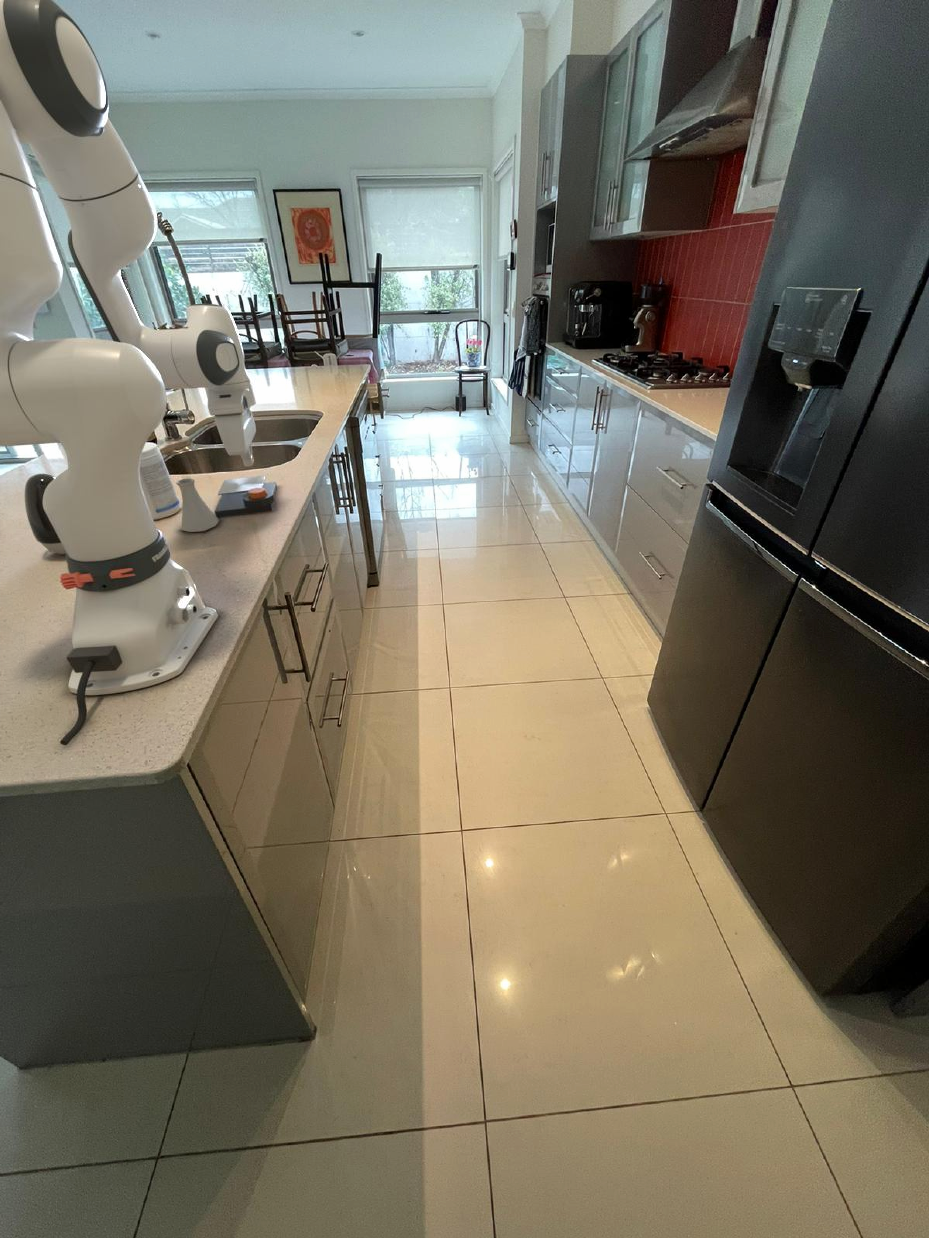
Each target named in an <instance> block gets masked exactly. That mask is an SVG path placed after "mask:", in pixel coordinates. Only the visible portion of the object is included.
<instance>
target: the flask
mask: <svg viewBox="0 0 929 1238" xmlns="http://www.w3.org/2000/svg"><path fill="white" fill-rule="evenodd" d="M176 485H177V486H178V487H179V489H180V493H181V500H182V505H181V508H182V509H181V511H182V512H181V527H180V528H181V531H185V532H188V533H195V532H196V533H197V532H205V531H207V530H209V529H212V528H214V527H216V526H217V525H218V523H219V522H220V519H219V517H216V515H215V512H213V511H212V510H211V509H210V508H209V506H208V505H207V503H206V502H205V501H204V500H203V499H202V497H201V495H200V494H199V492H198V490H197V488H196V486H195V479H194V478H191V477H189V478H182V479H179V480H178V481H176Z"/></svg>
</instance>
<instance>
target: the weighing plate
mask: <svg viewBox="0 0 929 1238" xmlns="http://www.w3.org/2000/svg"><path fill="white" fill-rule="evenodd" d="M265 480H266V475H260V476H250V477H249V476H248V477H240V478H231V479H224V480H223V482H222V483H221V486H220V488H219V491H218V492H217V496H222V495H226V494H235V493H244V492H248V491H249V490H251V489H254V488H263V485H264V483H265Z"/></svg>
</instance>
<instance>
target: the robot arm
mask: <svg viewBox="0 0 929 1238" xmlns="http://www.w3.org/2000/svg"><path fill="white" fill-rule="evenodd" d="M100 65H101V64H100V63H99V60H98V58H97V56H96V54H95V52H94V50H93V47H92V46H91V44H90V42H89V40H88V39H87V37H86V35H85V34H84V32H83V31H82V29H81V28H80V26H79V25H78V24H77V23H76V22H75V20H74V19H73V18H72V17H71V16H70V15H69V14H68V13H67V12H66V11H64V10H63V9H62V8H61V6H59V5H58V3H56V2H55V1H54V0H0V447H2V448H3V447H16V446H28V445H29V446H32V445H46V444H60V445H61V446H62V448H63V450H64V452H65V456H66V460H67V469H66V470H64V471H63V472H61V473H60V474H59V475H57V476H56V477H55V479H54V480H52V481H51V482H50V483H49V485H48V486H47V487H46V489H45V492H44V495H43V508H44V510H45V512H46V514H47V516H48V518H49V520H50V522H51V524H52V526H53V528H54V529H55V531H56V533H57V535H58V537H59V539H60V541H61V543H62V545H63V547H64V548H65V550H66V552H67V553H66V554H65V560H66V563H67V564H66V565H67V570H68V573H67V572H66V573H65V572H64V573H61V574H60V577H59V580H60V581H59V582H60V583H61V586H62V587H63V589H65V590H70V589H71V590H72V589H74V588H76V592H75V601H74V610H73V621H72V633H71V646H72V650H71V651H70V653H68V655H67V656H66V660H67V661H68V663H69V665H70V666H71V669H72V670H71V672H70V676H69V680H68V684H67V685H68V686H67V687H68V689H69V691H70V693H72V694H76V705H77V708H78V709H77V711H78V713H77V714H78V715H77V719H76V722H75V724H74V725H73V726H72V728H71V729H70V730H69V731H68V732H67V733H66V734H65V735H64V736H63V737H62V739H61V740H60V741H59V743H60V744H61V745H62V746H68V745H69V744H70V742H71V741H72V740H73V739H74V738H75V737H76V735H78V734H79V732H80V731H81V730H82V729H83V727H84V725H85V723H86V720H87V715H88V709H87V701H86V696H101V695H112V694H118V693H125V692H130V691H135V690H139V689H145V688H147V687H151V686H154V685H157V684H160V683H163V682H166V681H168V680H170V679H173V678H175V677H177V676H179V675H181V674H182V673H183V672H184V671H185V669H186V668H187V666H188V664H189V662H190V661H191V659H192V658H193V657H194V654H195V653H196V652H197V651H198V648H199V647H200V645H201V644H202V643H203V641H204V639H205V638H206V636H207V634H208V633H209V631H210V629H211V628H212V627H213V625H214V623H215V622H216V621H217V619H218V617H219V614H218V612H217V610H216V609H214V608H212V607H209V606H205V604H204V601H203V600H202V597H201V596H200V594H199V591H198V589H197V587H196V584H195V583H194V580H193V579H192V577H191V575H190V573H189V571H188V570H187V569H185V568H184V567H182V566H180V565H179V564H177V562H175V561H174V560H173V559H172V558H171V556H172V555H171V550H170V549H169V545H168V542H167V540H166V538H165V537H164V535H163V533H162V531H161V530H159V529H157V526H156V523H155V520H153V518H152V516H151V513H150V510H149V507H148V504H147V501H146V498H145V495H144V492H143V488H142V485H141V480H140V460H141V455H142V451H143V448H144V446H145V443H146V442H148V440H149V438H150V437H151V435H152V434H153V433H154V432H155V431H156V429H157V428H158V427H159V426H160V425H161V423H162V421H163V419H164V417H165V414H166V412H167V411H166V410H167V405H168V399H167V398H168V397H167V391H170V390H185V389H186V390H187V389H204V390H205V395H206V398H207V409H208V412H209V415H210V416H213V417H214V421H215V425H216V428H217V431H218V434H219V438H220V439H221V442H222V444H223V447H224V450H225V452H226V453H227V454H228V456H240V458H241V460H242V463H243V466H244V467H245V468H249V467H250V468H251V467H252V466H253V465H254V463H255V459H254V455H253V446H252V445H253V444H252V442H253V440H254V437H255V436H256V433H257V426H256V425H257V424H256V421H255V419H254V413H253V411H252V407H253V406H255V405H256V404H257V401H256V397H255V393H254V389H253V386H252V381H251V377H250V375H249V373H248V371H247V369H246V365H245V353H244V349H243V345H242V341H241V338H240V335H239V331H238V328H237V326H236V323H235V320H234V318H233V316H232V314H231V311H230V310H229V308H227V307H225V306H223V305H220V304H216V303H194V304H190V305H188V306H186V308H185V315H186V323H185V324H184V325H183V326H182V327H181V328H173V329H172V328H169V329H168V328H167V329H153V328H151V327H148V326H147V325H145V324H144V323H143V322H142V321H141V319H140V318H139V316H138V313H137V311H136V308H135V306H134V304H133V302H132V299H131V297H130V295H129V293H128V290H127V288H126V286H125V284H124V282H123V279H122V276H121V275H122V273H121V270H122V269H124V268H126V267H127V266H128V265H130V264H132V263H133V262H135V261H137V260H138V259H139V258H140V257H141V256H142V255H143V254H144V253H145V252H146V251H147V250H148V249H149V247H150V246H151V245H152V242H153V241H154V239H155V237H156V233H157V227H158V218H157V217H158V216H157V212H156V209H155V205H154V203H153V200H152V197H151V195H150V193H149V190H148V188H147V186H146V184H145V183H144V180H143V178H142V176H141V174H140V172H139V170H138V168H137V167H136V164H135V163H134V161H133V159H132V157H131V154H130V153H129V151H128V149H127V148H126V146H125V144H124V142H123V140H122V139H121V137H120V135H119V134H118V132H117V131H116V130H117V129H115V127H114V125H113V124H112V122H111V120H110V119H109V117H108V114H109V105H110V103H109V102H110V101H109V91H108V87H107V83H106V80H105V79H106V78H105V76H104V74H103V73H104V72H103V70H102V68H101V66H100ZM22 144H24V145H28V146H29V148H30V150H31V152H32V154H33V156H34V158H35V160H36V161H37V163H38V165H39V167H40V169H41V170H42V172H43V174H44V176H45V178H46V179H47V181H48V182H49V184H50V186H51V188H52V189H53V191H54V192H55V194H56V196H57V198H58V199H59V201H60V202H61V204H62V206H63V207H64V210H65V213H66V215H67V218H68V221H69V224H70V230H69V232H68V234H67V244H68V245H67V246H68V250H69V253H70V256H71V258H72V261H73V263H74V265H75V268H76V270H77V272H78V274H79V276H80V279H81V280H82V282H83V284H84V286H85V288H86V290H87V292H88V294H89V296H90V298H91V300H92V302H93V304H94V306H95V308H96V310H97V312H98V314H99V316H100V318H101V320H102V322H103V324H104V326H105V327H106V330H107V332H108V333H109V335H110V337H111V340H110V339H102V338H95V337H85V336H84V337H67V338H66V337H65V338H46V339H45V338H44V339H35V338H34V322H35V319H36V315H37V313H38V311H39V309H40V308H41V307H42V306H43V305H44V304H45V303H46V302H48V301H49V300H51V299H52V298H53V297H55V295H56V294H57V293H58V292H59V291H60V288H61V285H62V282H63V266H62V263H61V260H60V256H59V254H58V250H57V247H56V243H55V241H54V237H53V234H52V230H51V228H50V224H49V221H48V217H47V214H46V212H45V208H44V205H43V202H42V199H41V195H40V193H39V189H38V187H37V183H36V181H35V178H34V175H33V172H32V170H31V166H30V164H29V160H28V159H27V155H26V153H25V150H24V149H23V145H22Z"/></svg>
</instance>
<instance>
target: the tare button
mask: <svg viewBox="0 0 929 1238" xmlns="http://www.w3.org/2000/svg"><path fill="white" fill-rule="evenodd" d="M248 492H249V496H250V499H259V498H263V497H265V496H267V495H266V491H265V489H264V488H254V489H251V490H249V491H248Z"/></svg>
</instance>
